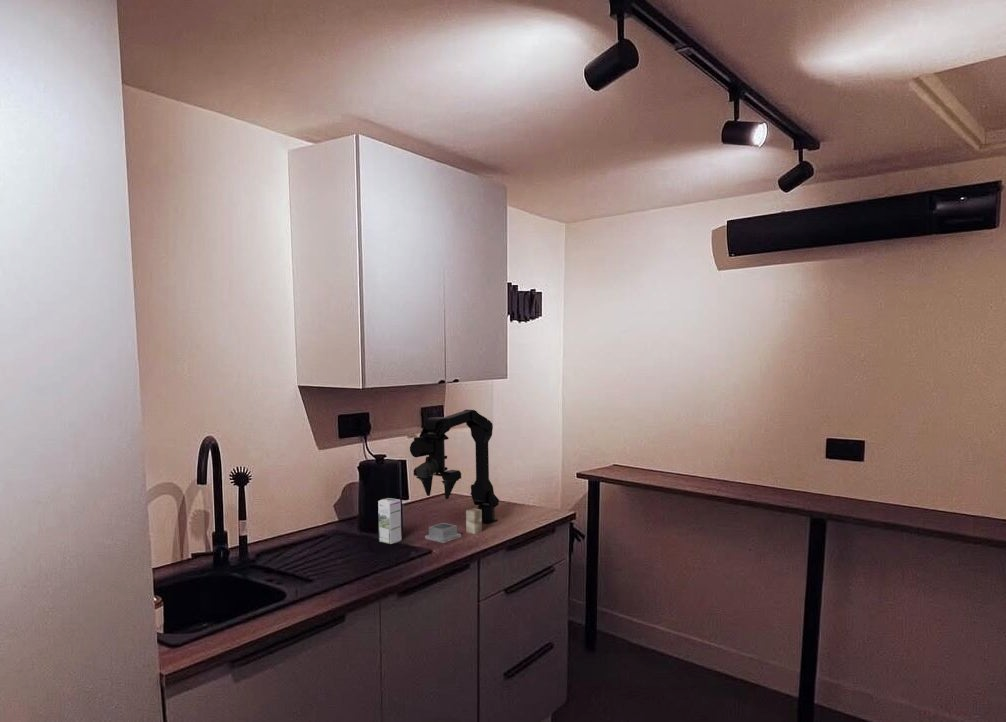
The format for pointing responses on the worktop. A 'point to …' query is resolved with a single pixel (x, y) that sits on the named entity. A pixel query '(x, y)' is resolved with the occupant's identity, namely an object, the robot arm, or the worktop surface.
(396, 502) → the syrup box
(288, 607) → the worktop surface
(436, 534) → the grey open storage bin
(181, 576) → the worktop surface
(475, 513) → the beige rectangular block
